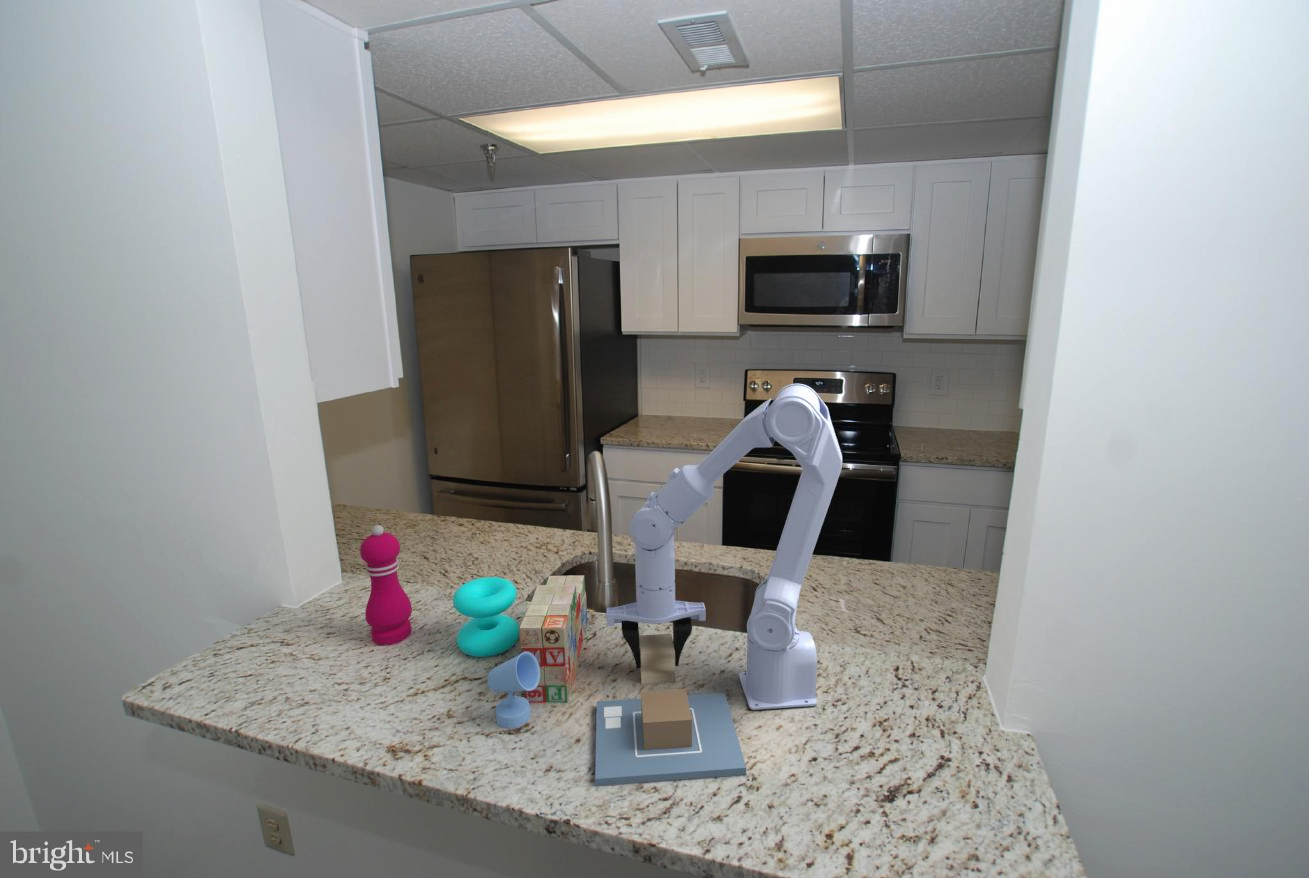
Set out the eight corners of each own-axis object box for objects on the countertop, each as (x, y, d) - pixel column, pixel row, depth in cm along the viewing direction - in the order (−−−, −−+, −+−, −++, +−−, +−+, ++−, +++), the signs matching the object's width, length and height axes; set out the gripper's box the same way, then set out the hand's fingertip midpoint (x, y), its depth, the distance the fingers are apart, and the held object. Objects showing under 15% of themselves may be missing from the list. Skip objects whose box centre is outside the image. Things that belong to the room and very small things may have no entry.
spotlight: (547, 710, 86) (503, 701, 88) (542, 646, 84) (497, 639, 86) (530, 734, 82) (484, 724, 84) (525, 668, 79) (477, 659, 81)
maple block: (671, 662, 97) (671, 633, 96) (675, 682, 92) (674, 652, 91) (639, 664, 96) (638, 635, 95) (641, 684, 92) (640, 654, 90)
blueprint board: (724, 698, 88) (724, 667, 87) (746, 774, 75) (746, 739, 73) (597, 707, 87) (595, 675, 86) (595, 785, 73) (593, 750, 72)
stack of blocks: (552, 623, 109) (548, 558, 106) (588, 623, 108) (584, 558, 105) (524, 704, 88) (518, 626, 85) (568, 704, 88) (564, 626, 85)
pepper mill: (404, 647, 102) (389, 534, 97) (361, 647, 102) (343, 534, 97) (421, 623, 109) (408, 516, 104) (380, 624, 109) (365, 517, 104)
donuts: (454, 577, 104) (515, 570, 106) (460, 631, 107) (519, 623, 109) (449, 607, 95) (516, 598, 97) (455, 664, 97) (521, 655, 99)
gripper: (700, 566, 95) (700, 645, 98) (605, 571, 94) (608, 650, 97) (708, 588, 88) (707, 672, 91) (605, 594, 87) (608, 678, 90)
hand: (656, 663), depth 94 cm, fingers closed on maple block, 5 cm apart
